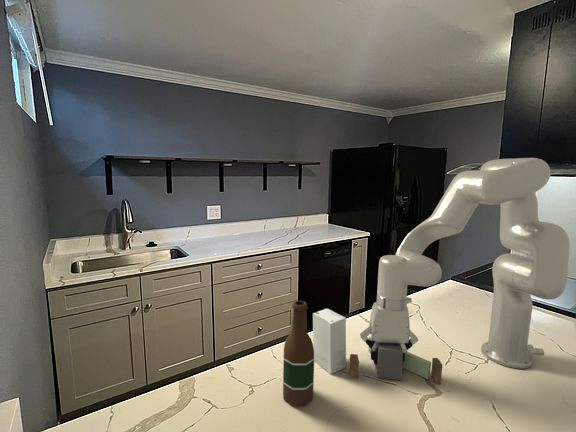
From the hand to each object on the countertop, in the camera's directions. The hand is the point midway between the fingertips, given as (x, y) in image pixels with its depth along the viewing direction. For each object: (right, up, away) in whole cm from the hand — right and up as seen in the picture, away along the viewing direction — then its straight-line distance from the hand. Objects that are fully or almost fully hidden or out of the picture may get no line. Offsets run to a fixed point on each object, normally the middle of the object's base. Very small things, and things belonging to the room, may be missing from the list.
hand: (387, 362), depth 86 cm
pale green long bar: (+1, -3, -3) cm, 4 cm away
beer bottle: (-25, -4, -11) cm, 28 cm away
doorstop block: (0, -2, -1) cm, 2 cm away
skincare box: (-16, -2, +3) cm, 16 cm away
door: (+3, -2, +3) cm, 5 cm away
